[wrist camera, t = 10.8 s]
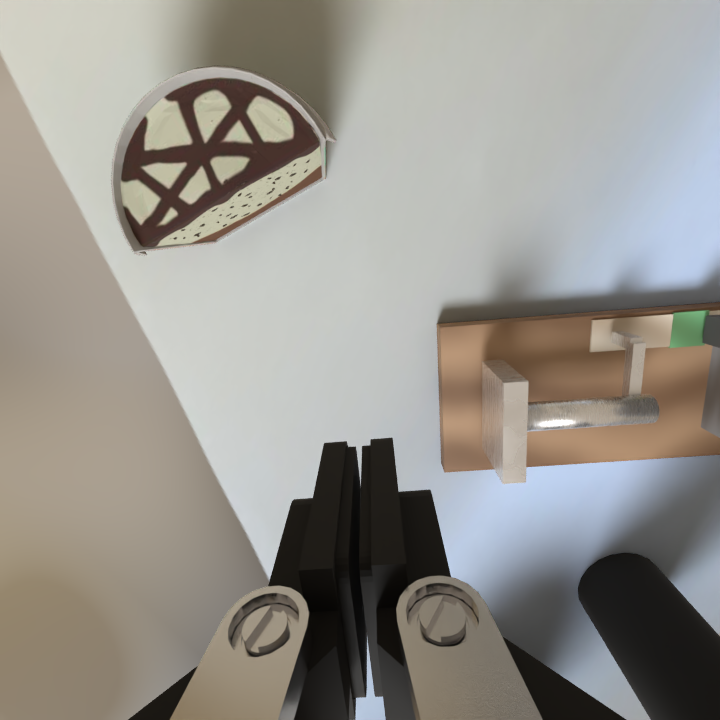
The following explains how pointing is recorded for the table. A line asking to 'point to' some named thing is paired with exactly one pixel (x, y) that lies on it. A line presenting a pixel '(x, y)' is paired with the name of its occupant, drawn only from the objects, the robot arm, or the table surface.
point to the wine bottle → (654, 637)
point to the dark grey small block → (712, 331)
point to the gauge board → (585, 383)
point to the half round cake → (212, 157)
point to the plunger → (554, 409)
